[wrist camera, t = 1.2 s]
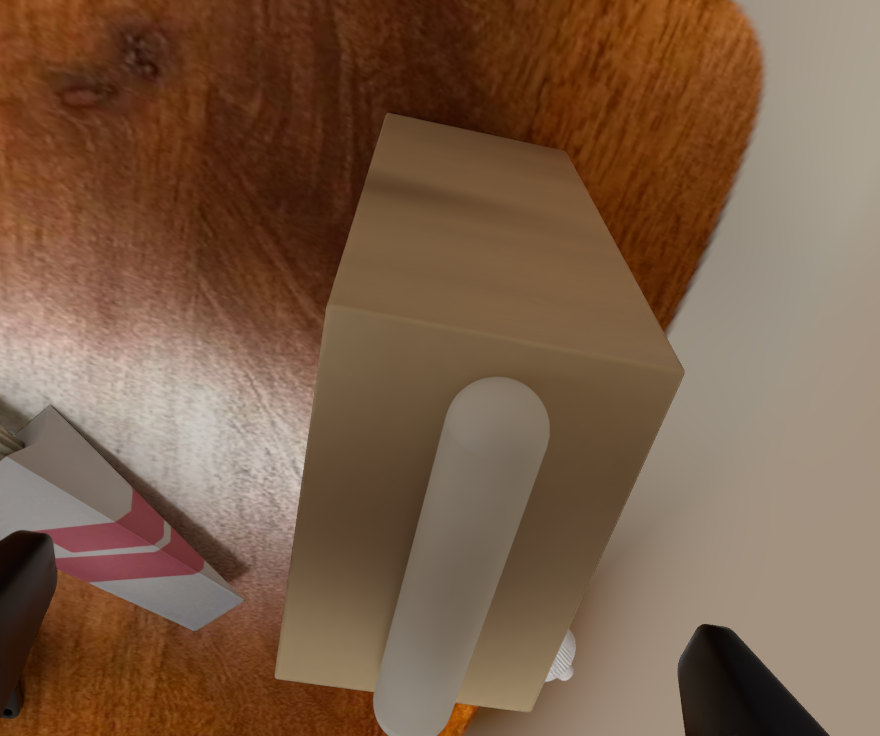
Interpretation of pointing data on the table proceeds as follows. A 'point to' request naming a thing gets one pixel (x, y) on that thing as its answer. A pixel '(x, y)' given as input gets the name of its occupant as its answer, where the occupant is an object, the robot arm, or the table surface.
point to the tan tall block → (445, 375)
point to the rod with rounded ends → (459, 550)
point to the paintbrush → (103, 525)
